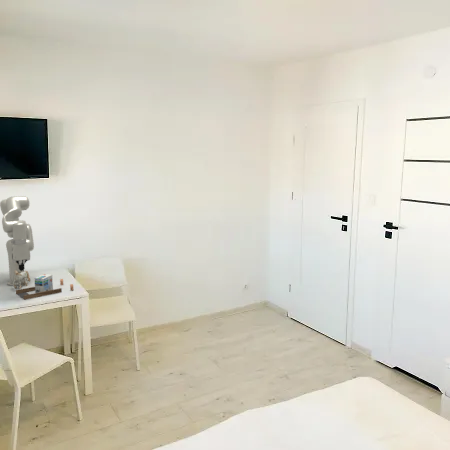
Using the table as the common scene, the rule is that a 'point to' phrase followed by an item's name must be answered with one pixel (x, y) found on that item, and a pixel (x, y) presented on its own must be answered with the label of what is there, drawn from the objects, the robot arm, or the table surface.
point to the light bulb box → (43, 283)
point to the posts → (70, 284)
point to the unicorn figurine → (21, 276)
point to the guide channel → (37, 293)
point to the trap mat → (22, 295)
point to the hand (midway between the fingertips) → (21, 270)
